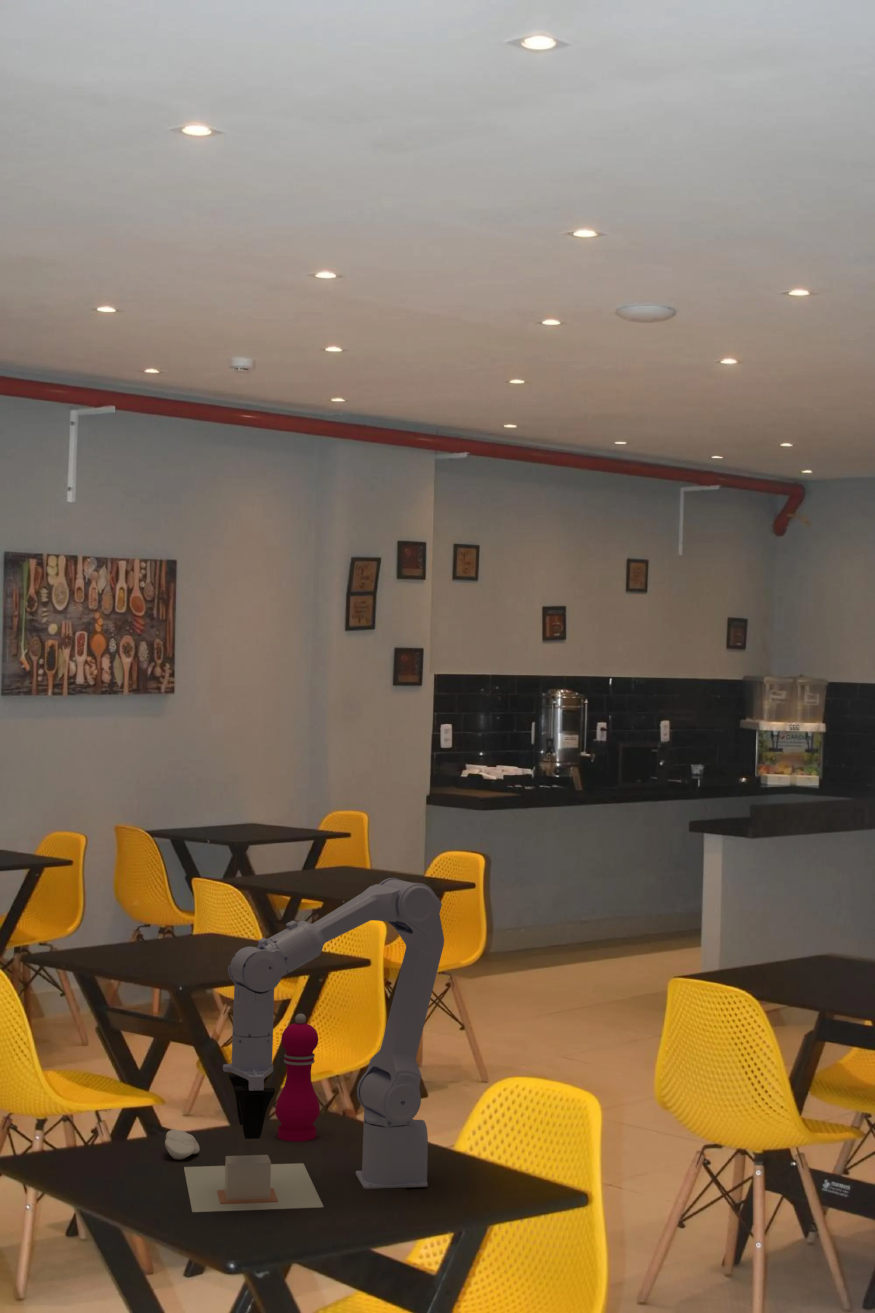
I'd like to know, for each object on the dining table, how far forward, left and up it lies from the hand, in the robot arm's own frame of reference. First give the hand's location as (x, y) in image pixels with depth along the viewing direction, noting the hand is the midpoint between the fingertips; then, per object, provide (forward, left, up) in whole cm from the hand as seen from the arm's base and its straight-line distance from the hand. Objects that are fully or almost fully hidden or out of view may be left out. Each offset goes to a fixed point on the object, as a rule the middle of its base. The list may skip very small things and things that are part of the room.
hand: (249, 1131), depth 218 cm
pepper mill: (-11, -32, -10) cm, 35 cm away
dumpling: (+8, -22, -10) cm, 25 cm away
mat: (-1, -5, -9) cm, 11 cm away
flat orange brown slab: (0, 0, -9) cm, 9 cm away
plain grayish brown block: (0, 0, -9) cm, 9 cm away
